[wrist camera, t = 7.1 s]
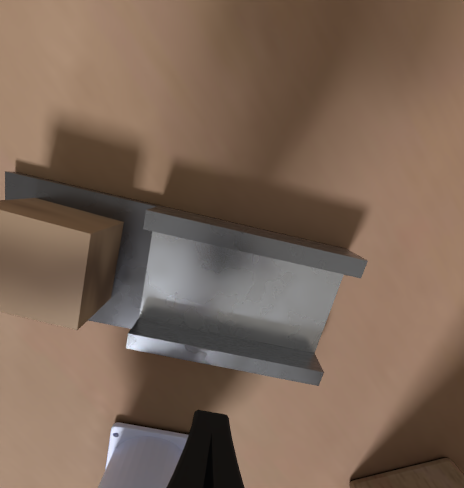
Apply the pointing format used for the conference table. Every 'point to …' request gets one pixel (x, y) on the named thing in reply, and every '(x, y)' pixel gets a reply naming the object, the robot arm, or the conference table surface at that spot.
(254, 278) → the chute
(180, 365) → the conference table surface
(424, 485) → the wooden block
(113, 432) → the robot arm
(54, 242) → the walnut block
